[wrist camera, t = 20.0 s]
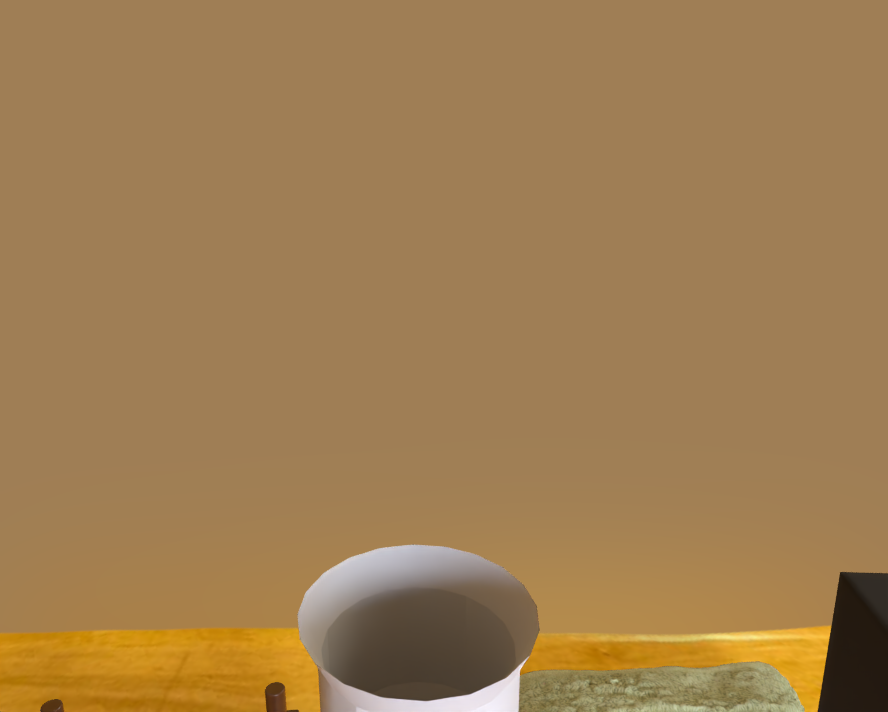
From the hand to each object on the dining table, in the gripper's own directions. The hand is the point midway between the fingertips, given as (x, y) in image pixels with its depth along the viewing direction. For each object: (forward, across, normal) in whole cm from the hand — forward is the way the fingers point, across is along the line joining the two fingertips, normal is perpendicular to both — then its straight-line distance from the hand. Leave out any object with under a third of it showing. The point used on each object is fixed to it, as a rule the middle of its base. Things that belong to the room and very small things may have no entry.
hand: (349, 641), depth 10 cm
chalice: (+10, 0, -24) cm, 26 cm away
